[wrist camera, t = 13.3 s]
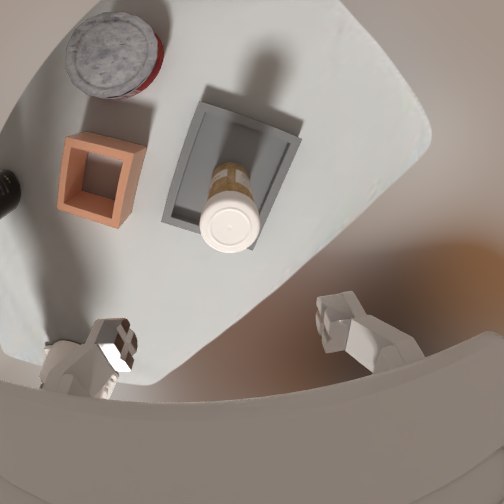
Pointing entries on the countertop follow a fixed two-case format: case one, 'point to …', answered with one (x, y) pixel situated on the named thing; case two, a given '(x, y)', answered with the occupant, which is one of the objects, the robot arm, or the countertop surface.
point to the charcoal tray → (223, 151)
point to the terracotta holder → (73, 175)
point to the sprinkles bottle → (230, 210)
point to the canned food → (113, 56)
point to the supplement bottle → (8, 192)
